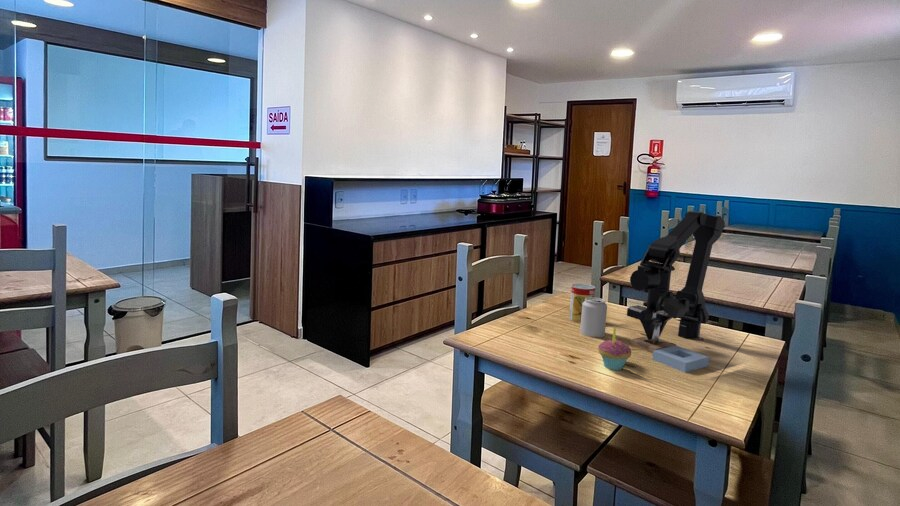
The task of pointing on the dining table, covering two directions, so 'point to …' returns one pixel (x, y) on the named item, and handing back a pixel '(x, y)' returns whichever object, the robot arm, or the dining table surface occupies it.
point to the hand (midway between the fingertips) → (653, 338)
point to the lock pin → (655, 333)
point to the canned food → (579, 299)
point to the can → (593, 317)
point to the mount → (649, 347)
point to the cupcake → (614, 353)
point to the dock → (680, 358)
